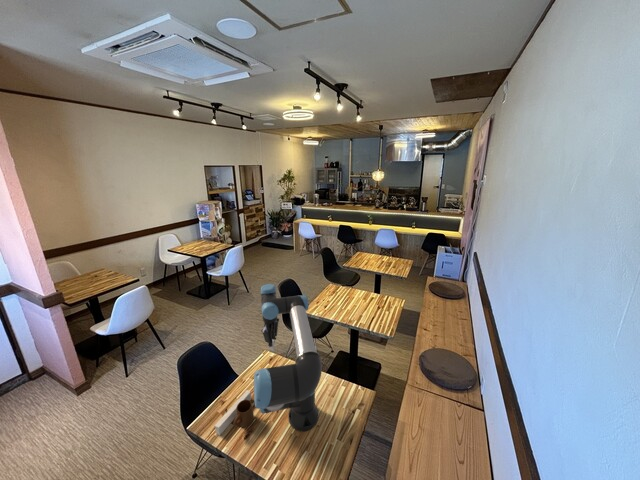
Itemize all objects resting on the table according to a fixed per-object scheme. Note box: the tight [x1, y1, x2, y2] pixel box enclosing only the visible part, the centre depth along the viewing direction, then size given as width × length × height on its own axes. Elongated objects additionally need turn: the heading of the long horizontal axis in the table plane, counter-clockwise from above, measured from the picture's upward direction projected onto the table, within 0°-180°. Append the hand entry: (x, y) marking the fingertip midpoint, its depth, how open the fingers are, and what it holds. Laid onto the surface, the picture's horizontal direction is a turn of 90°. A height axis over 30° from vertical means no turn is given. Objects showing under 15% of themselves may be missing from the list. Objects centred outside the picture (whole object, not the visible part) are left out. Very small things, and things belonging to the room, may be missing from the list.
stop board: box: [214, 389, 252, 436], centre depth 130 cm, size 2×22×5 cm, turn 153°
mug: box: [232, 400, 254, 428], centre depth 125 cm, size 12×8×9 cm, turn 161°
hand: (272, 349), depth 141 cm, fingers closed
